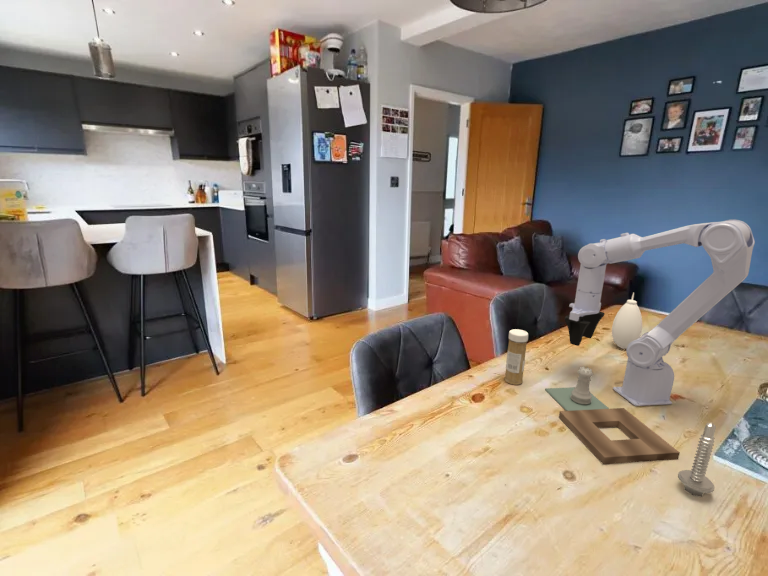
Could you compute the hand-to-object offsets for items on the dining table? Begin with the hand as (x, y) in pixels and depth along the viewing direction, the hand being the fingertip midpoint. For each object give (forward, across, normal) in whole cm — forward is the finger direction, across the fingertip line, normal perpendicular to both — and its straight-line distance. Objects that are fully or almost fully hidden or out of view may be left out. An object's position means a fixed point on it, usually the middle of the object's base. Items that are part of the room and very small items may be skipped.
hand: (580, 340), depth 105 cm
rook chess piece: (+9, +14, +7) cm, 18 cm away
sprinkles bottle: (+10, +17, -9) cm, 21 cm away
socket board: (+9, +22, +17) cm, 29 cm away
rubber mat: (+9, +14, +6) cm, 18 cm away
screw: (+10, +28, +31) cm, 43 cm away
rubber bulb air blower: (+10, -30, +2) cm, 31 cm away
